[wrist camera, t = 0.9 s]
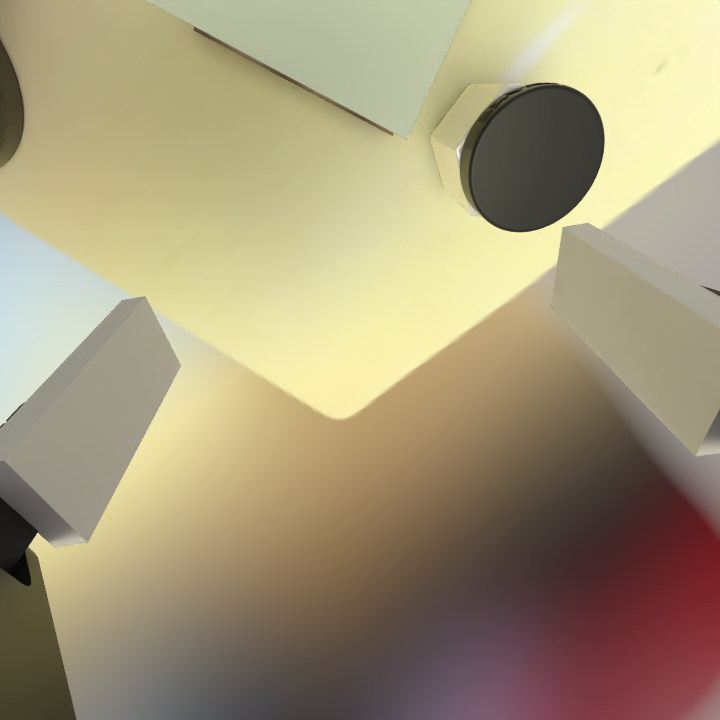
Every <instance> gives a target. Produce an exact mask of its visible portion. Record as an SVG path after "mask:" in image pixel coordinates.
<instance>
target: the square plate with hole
mask: <svg viewBox="0 0 720 720" xmlns="http://www.w3.org/2000/svg"><path fill="white" fill-rule="evenodd" d="M146 1H148V2H150V3H151V4H153V5H155V6H157V7H159V8H161V9H163V10H165V11H166V12H168V13H170V14H172V15H174V16H176V17H178V18H180V19H181V20H183V21H185V22H187V23H189V24H191V25H193V26H195V27H196V28H198V29H200V30H202V31H204V32H206V33H208V34H210V35H211V36H213V37H215V38H217V39H219V40H221V41H223V42H225V43H226V44H228V45H230V46H232V47H234V48H236V49H238V50H239V51H241V52H243V53H245V54H247V55H249V56H251V57H253V58H254V59H256V60H258V61H260V62H262V63H264V64H266V65H268V66H269V67H271V68H273V69H275V70H277V71H279V72H281V73H283V74H284V75H286V76H288V77H290V78H292V79H294V80H296V81H298V82H299V83H301V84H303V85H305V86H307V87H309V88H311V89H313V90H314V91H316V92H318V93H320V94H322V95H324V96H326V97H328V98H329V99H331V100H333V101H335V102H337V103H339V104H341V105H343V106H344V107H346V108H348V109H350V110H352V111H354V112H356V113H358V114H359V115H361V116H363V117H365V118H367V119H369V120H371V121H373V122H374V123H376V124H378V125H380V126H382V127H384V128H386V129H388V130H389V131H391V132H393V133H395V134H397V135H399V136H401V137H403V138H404V139H406V140H407V139H408V137H409V135H410V132H411V130H412V128H413V126H414V124H415V121H416V119H417V117H418V115H419V113H420V111H421V108H422V106H423V104H424V102H425V100H426V97H427V95H428V93H429V91H430V89H431V86H432V84H433V82H434V80H435V78H436V75H437V73H438V71H439V69H440V67H441V64H442V62H443V60H444V58H445V56H446V54H447V51H448V49H449V47H450V45H451V43H452V40H453V38H454V36H455V34H456V32H457V29H458V27H459V25H460V23H461V21H462V18H463V16H464V14H465V12H466V10H467V7H468V5H469V3H470V1H471V0H146Z"/></svg>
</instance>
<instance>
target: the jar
mask: <svg viewBox="0 0 720 720" xmlns="http://www.w3.org/2000/svg"><path fill="white" fill-rule="evenodd" d="M430 140H431V144H432V147H433V151H434V155H435V158H436V162H437V166H438V170H439V173H440V177H441V181H442V185H443V188H444V190H445V191H446V192H447V193H448V194H450V195H451V196H452V197H453V198H454V199H455V200H456V201H457V202H458V203H459V204H460V205H461V206H462V207H463V208H464V209H465V210H466V211H467V212H468V213H469V214H470V215H471V216H478V217H483V218H484V219H485V220H486V221H488V222H489V223H490V224H492V225H493V226H495V227H497V228H500V229H503V230H506V231H511V232H529V231H534V230H538V229H541V228H544V227H546V226H549V225H551V224H553V223H555V222H556V221H558V220H560V219H561V218H563V217H564V216H565V215H567V214H568V213H569V212H570V211H571V210H572V209H574V208H575V207H576V206H577V205H578V203H579V202H580V201H581V200H582V199H583V198H584V196H585V195H586V194H587V192H588V191H589V189H590V187H591V186H592V184H593V182H594V180H595V178H596V176H597V174H598V171H599V169H600V165H601V162H602V158H603V153H604V142H605V137H604V128H603V123H602V120H601V117H600V114H599V112H598V110H597V109H596V107H595V105H594V104H593V103H592V101H591V100H590V99H589V98H588V97H587V96H585V95H584V94H583V93H581V92H580V91H578V90H576V89H574V88H572V87H569V86H565V85H559V84H557V83H535V84H529V85H523V84H517V83H511V82H504V83H488V84H472V85H468V86H467V88H466V89H465V90H464V92H463V93H462V94H461V96H460V97H459V98H458V100H457V101H456V102H455V103H454V105H453V106H452V107H451V109H450V110H449V111H448V113H447V114H446V115H445V117H444V118H443V119H442V121H441V122H440V123H439V125H438V126H437V127H436V128H435V130H434V131H433V132H432V134H431V135H430Z"/></svg>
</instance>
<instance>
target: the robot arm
mask: <svg viewBox="0 0 720 720" xmlns="http://www.w3.org/2000/svg"><path fill="white" fill-rule="evenodd" d="M22 125H23V109H22V100H21V95H20V90H19V87H18V83H17V80H16V77H15V74H14V71H13V68H12V66H11V63H10V61H9V59H8V57H7V55H6V53H5V51H4V49H3V47H2V45H1V43H0V167H1V166H3V165H4V164H5V163H6V162H7V161H8V160H9V159H10V158H11V156H12V155H13V153H14V152H15V150H16V148H17V146H18V143H19V140H20V137H21V132H22ZM551 308H552V309H553V310H554V311H555V312H556V313H557V314H558V315H559V316H560V317H561V318H562V319H563V320H564V321H565V322H566V323H567V324H568V325H569V326H570V327H571V328H572V329H573V330H574V332H576V333H577V335H579V337H580V338H581V339H582V340H583V341H584V342H585V343H586V344H587V345H588V346H589V347H590V348H591V349H592V350H593V351H594V352H595V353H596V354H597V355H598V356H599V357H600V358H601V359H602V360H603V362H605V364H606V365H607V366H608V367H609V368H610V369H611V370H612V371H613V372H614V373H615V374H616V375H617V376H618V377H619V378H620V379H621V380H622V381H623V382H624V383H625V384H626V385H627V386H628V388H629V389H631V391H632V392H633V393H634V394H635V395H636V396H637V397H638V398H639V399H640V400H641V401H642V402H643V403H644V404H645V405H646V406H647V407H648V408H649V409H650V410H651V411H652V412H653V413H654V414H655V415H656V417H658V419H660V421H661V422H662V423H663V424H664V425H665V426H666V427H667V428H668V429H669V430H670V431H671V432H672V433H673V434H674V435H675V436H676V437H677V438H678V439H679V440H680V441H681V442H682V443H683V445H684V446H685V447H687V449H688V450H689V451H690V452H691V453H692V454H693V455H694V456H702V455H709V454H716V453H720V291H717V290H714V289H710V288H707V287H704V286H700V285H698V284H696V283H695V282H693V281H691V280H689V279H687V278H685V277H684V276H682V275H680V274H678V273H677V272H675V271H673V270H671V269H669V268H668V267H666V266H664V265H662V264H661V263H659V262H657V261H655V260H653V259H652V258H650V257H648V256H646V255H645V254H643V253H641V252H639V251H637V250H635V249H634V248H632V247H630V246H628V245H627V244H625V243H623V242H621V241H619V240H618V239H616V238H614V237H612V236H611V235H609V234H607V233H605V232H603V231H602V230H600V229H598V228H596V227H594V226H593V225H591V224H589V223H585V224H579V225H573V226H567V227H563V229H562V236H561V242H560V249H559V256H558V262H557V270H556V276H555V283H554V290H553V296H552V303H551ZM180 367H181V365H180V363H179V361H178V359H177V357H176V355H175V353H174V351H173V349H172V347H171V345H170V344H169V341H168V340H167V337H166V335H165V334H164V332H163V330H162V328H161V326H160V324H159V322H158V320H157V318H156V316H155V314H154V312H153V310H152V308H151V306H150V304H149V302H148V300H147V299H146V297H139V298H133V299H127V300H122V301H121V302H120V303H119V304H118V305H117V306H116V307H115V309H114V310H112V311H111V313H110V314H109V315H108V316H107V317H106V318H105V319H104V320H103V321H102V322H101V323H100V324H99V325H98V326H97V327H96V328H95V329H94V330H93V332H92V333H91V334H90V335H89V336H88V337H87V338H86V339H85V340H84V341H83V342H82V343H81V344H80V345H79V346H78V347H77V348H76V349H75V350H74V352H73V353H72V354H71V355H70V356H69V357H68V358H67V359H66V360H65V361H64V362H63V363H62V364H61V365H60V366H59V367H58V368H57V369H56V370H55V372H54V373H53V374H52V375H51V376H50V377H49V378H48V379H47V380H46V381H45V382H44V383H43V384H42V385H41V386H40V387H39V388H38V389H37V390H36V392H35V393H34V394H33V395H32V396H31V397H30V398H29V399H28V400H27V401H26V402H25V403H23V404H22V405H21V406H20V407H19V408H18V409H17V410H16V411H15V412H14V413H13V414H12V415H11V416H10V417H9V418H8V419H7V420H6V421H7V422H6V423H4V424H2V425H1V426H0V720H76V716H75V712H74V708H73V703H72V699H71V695H70V691H69V687H68V683H67V678H66V674H65V670H64V666H63V661H62V657H61V653H60V649H59V644H58V640H57V636H56V632H55V628H54V624H53V619H52V615H51V611H50V606H49V602H48V598H47V594H46V590H45V585H44V581H43V577H42V573H41V569H40V564H39V560H38V557H37V556H36V554H35V553H34V552H33V551H32V550H31V549H30V548H28V546H29V544H30V543H31V542H32V540H33V539H34V537H35V536H36V534H37V532H38V533H39V534H40V535H41V536H42V537H43V538H44V539H46V540H47V541H48V542H49V543H50V544H51V545H52V546H53V547H61V546H68V545H75V544H82V543H88V541H89V539H90V537H91V535H92V533H93V532H94V530H95V528H96V526H97V524H98V522H99V520H100V518H101V517H102V515H103V513H104V511H105V509H106V507H107V505H108V503H109V501H110V499H111V498H112V496H113V494H114V492H115V490H116V488H117V486H118V484H119V482H120V480H121V479H122V477H123V475H124V473H125V471H126V469H127V467H128V465H129V463H130V462H131V459H132V458H133V456H134V454H135V452H136V450H137V448H138V446H139V444H140V442H141V441H142V439H143V437H144V435H145V433H146V431H147V429H148V427H149V425H150V424H151V422H152V420H153V418H154V416H155V414H156V412H157V410H158V408H159V406H160V404H161V403H162V401H163V399H164V397H165V395H166V393H167V391H168V389H169V387H170V386H171V384H172V382H173V380H174V378H175V376H176V374H177V372H178V370H179V368H180Z"/></svg>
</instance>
